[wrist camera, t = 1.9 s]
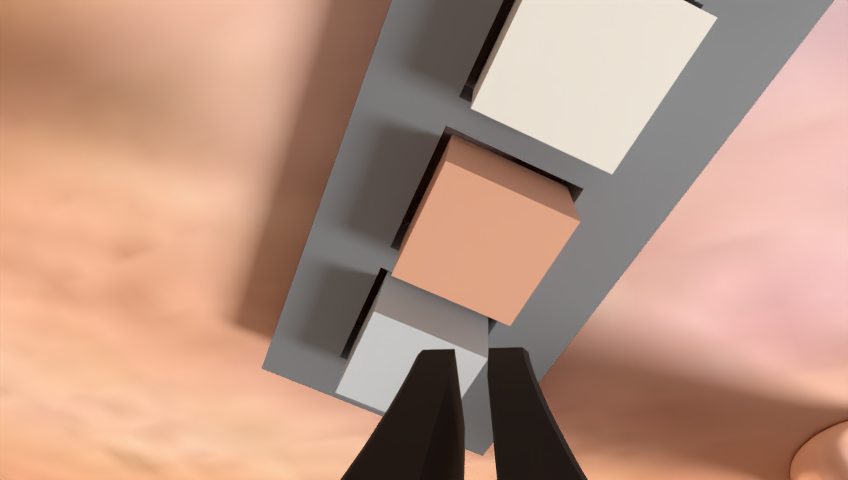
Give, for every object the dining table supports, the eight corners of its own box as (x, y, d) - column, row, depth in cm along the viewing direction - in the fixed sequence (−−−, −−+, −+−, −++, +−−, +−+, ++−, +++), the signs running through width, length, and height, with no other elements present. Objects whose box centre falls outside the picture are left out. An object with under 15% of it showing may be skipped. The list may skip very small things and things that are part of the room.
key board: (815, -38, 13) (864, -40, 12) (483, 418, 23) (482, 455, 21) (480, -217, 12) (479, -249, 11) (279, 336, 22) (261, 368, 20)
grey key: (488, 312, 18) (487, 359, 16) (443, 383, 20) (438, 433, 18) (388, 269, 18) (374, 311, 16) (352, 346, 20) (335, 392, 17)
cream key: (679, 10, 13) (717, 18, 11) (593, 145, 15) (612, 174, 13) (542, -59, 13) (554, -67, 10) (473, 88, 14) (470, 108, 12)
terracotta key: (567, 187, 15) (580, 221, 13) (507, 281, 17) (510, 326, 15) (451, 133, 15) (445, 160, 13) (403, 237, 17) (391, 275, 15)
